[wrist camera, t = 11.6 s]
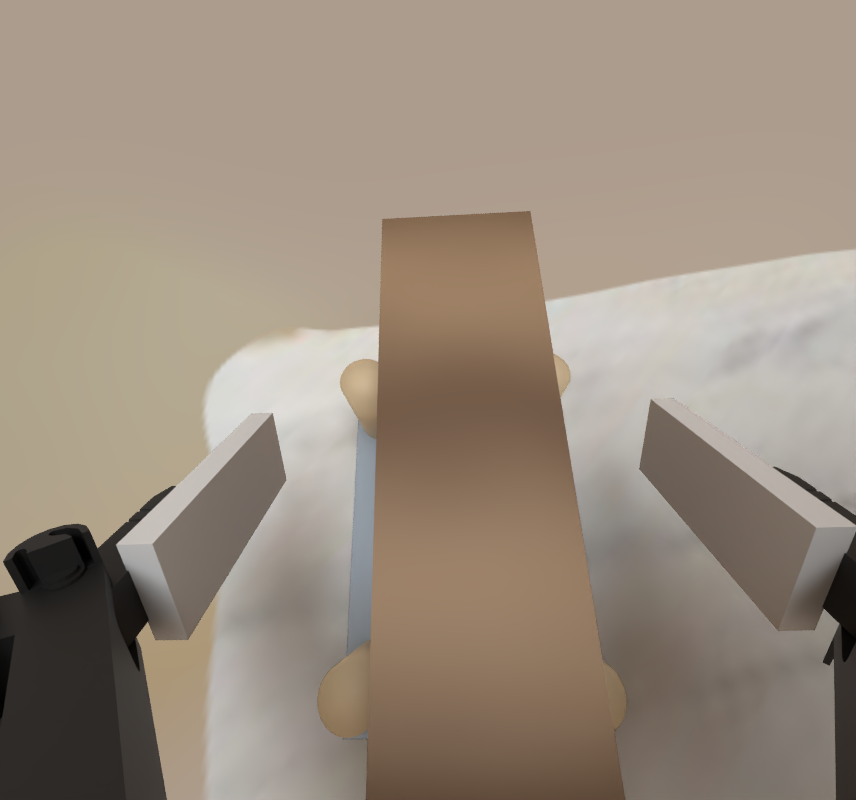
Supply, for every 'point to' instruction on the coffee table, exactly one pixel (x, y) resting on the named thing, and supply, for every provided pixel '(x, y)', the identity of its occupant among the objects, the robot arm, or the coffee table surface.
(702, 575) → the coffee table surface
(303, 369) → the coffee table surface
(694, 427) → the robot arm
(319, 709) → the cradle
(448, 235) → the board
